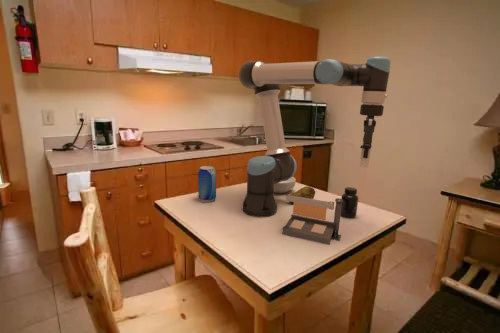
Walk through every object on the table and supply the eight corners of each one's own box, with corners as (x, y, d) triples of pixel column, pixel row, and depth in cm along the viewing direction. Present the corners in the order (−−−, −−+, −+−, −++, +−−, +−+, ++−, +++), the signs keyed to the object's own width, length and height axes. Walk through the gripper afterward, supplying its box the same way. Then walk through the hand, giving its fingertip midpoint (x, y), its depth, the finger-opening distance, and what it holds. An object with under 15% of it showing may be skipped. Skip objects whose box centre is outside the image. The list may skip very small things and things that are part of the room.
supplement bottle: (357, 219, 119) (360, 192, 116) (340, 217, 120) (343, 190, 117) (354, 212, 125) (358, 187, 122) (338, 211, 127) (341, 185, 124)
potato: (287, 198, 140) (288, 183, 139) (313, 200, 139) (315, 185, 137) (287, 204, 132) (288, 188, 131) (315, 206, 131) (316, 190, 129)
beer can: (219, 199, 137) (219, 167, 133) (208, 204, 130) (208, 170, 126) (206, 195, 142) (206, 164, 138) (194, 200, 135) (194, 167, 131)
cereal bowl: (280, 184, 164) (281, 172, 162) (301, 192, 151) (302, 179, 149) (257, 189, 154) (257, 176, 152) (277, 198, 141) (278, 184, 139)
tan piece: (284, 213, 107) (285, 195, 106) (286, 211, 109) (287, 193, 107) (332, 222, 100) (334, 203, 99) (332, 220, 102) (334, 201, 100)
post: (329, 238, 101) (333, 200, 98) (330, 234, 104) (334, 197, 101) (339, 241, 100) (344, 202, 96) (340, 236, 103) (345, 199, 100)
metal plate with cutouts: (282, 234, 104) (282, 226, 103) (291, 221, 115) (291, 214, 114) (329, 244, 97) (330, 236, 96) (334, 230, 108) (335, 222, 107)
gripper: (386, 105, 87) (375, 172, 92) (382, 104, 109) (373, 157, 115) (360, 104, 90) (351, 169, 95) (361, 103, 112) (354, 155, 117)
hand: (363, 162), depth 105 cm, fingers open, 13 cm apart
